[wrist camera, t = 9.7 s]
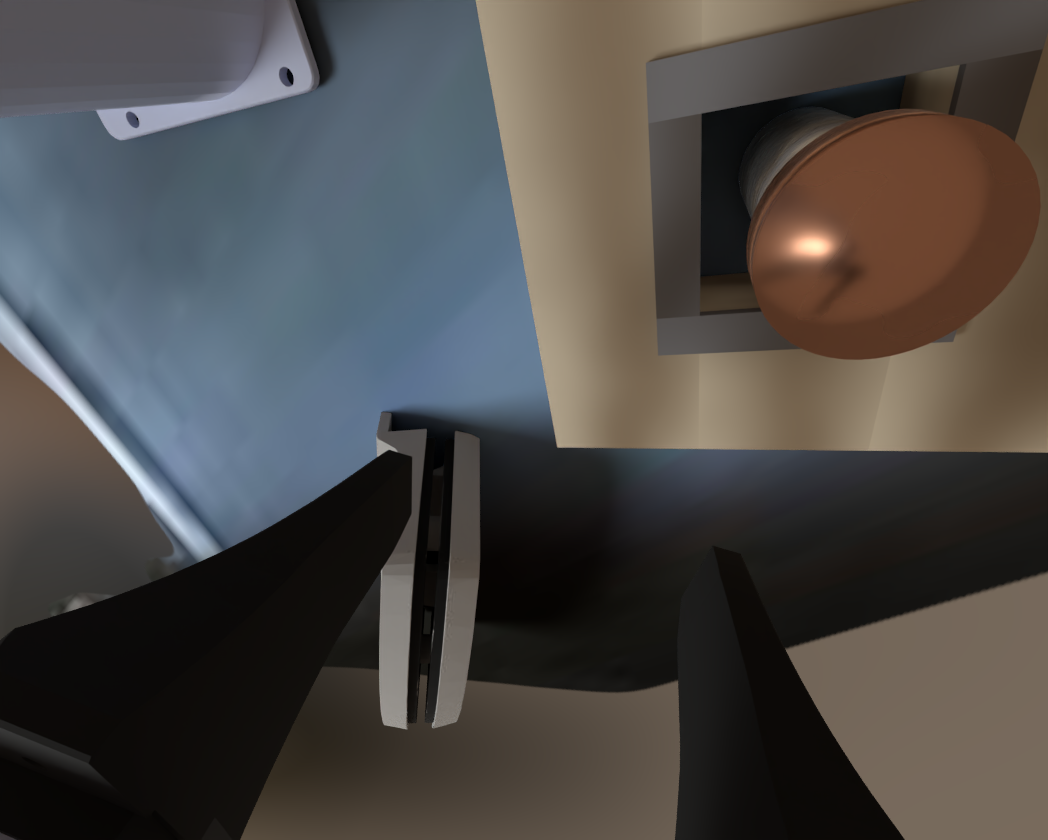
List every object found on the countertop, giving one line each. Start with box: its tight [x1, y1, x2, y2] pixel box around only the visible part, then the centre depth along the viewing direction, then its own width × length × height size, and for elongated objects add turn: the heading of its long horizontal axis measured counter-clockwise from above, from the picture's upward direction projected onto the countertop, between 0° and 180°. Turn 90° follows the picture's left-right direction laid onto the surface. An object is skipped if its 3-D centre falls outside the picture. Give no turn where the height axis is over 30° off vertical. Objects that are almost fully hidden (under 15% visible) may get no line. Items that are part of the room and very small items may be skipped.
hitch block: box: [476, 0, 1048, 452], centre depth 13 cm, size 15×15×3 cm
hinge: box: [377, 412, 480, 729], centre depth 25 cm, size 17×5×10 cm, turn 171°
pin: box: [739, 107, 1041, 360], centre depth 11 cm, size 4×4×8 cm
